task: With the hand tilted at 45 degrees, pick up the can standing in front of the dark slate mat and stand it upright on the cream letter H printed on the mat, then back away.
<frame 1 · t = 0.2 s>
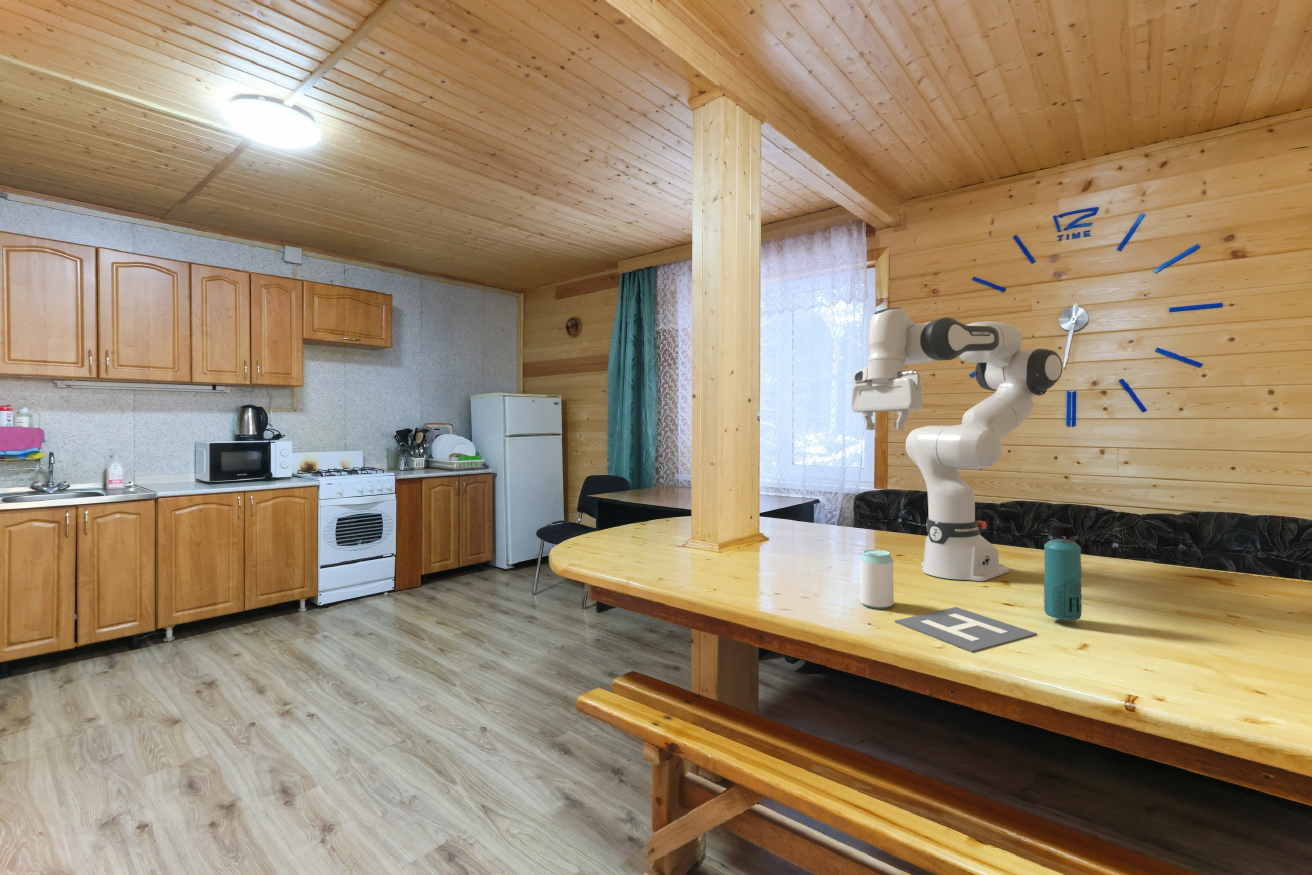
hand: (883, 429, 149), 39 cm above the table, tool pointing down, fingers open, 8 cm apart
can: (876, 605, 137), on the table
letter mat: (963, 628, 121), on the table
beverage bottle: (1062, 623, 123), on the table
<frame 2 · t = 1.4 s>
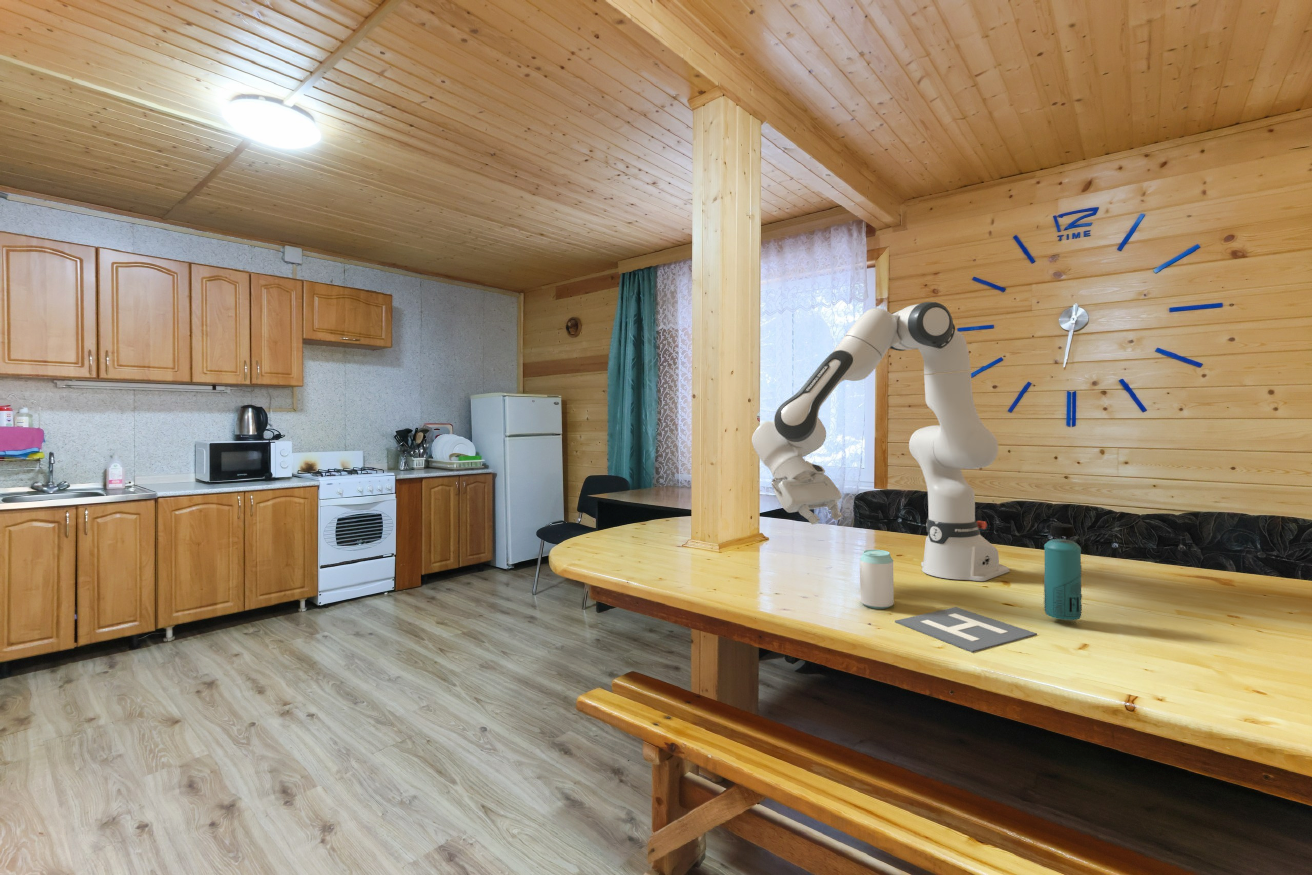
hand: (828, 520, 145), 18 cm above the table, tool tilted 45°, fingers open, 8 cm apart
nothing on the table moved.
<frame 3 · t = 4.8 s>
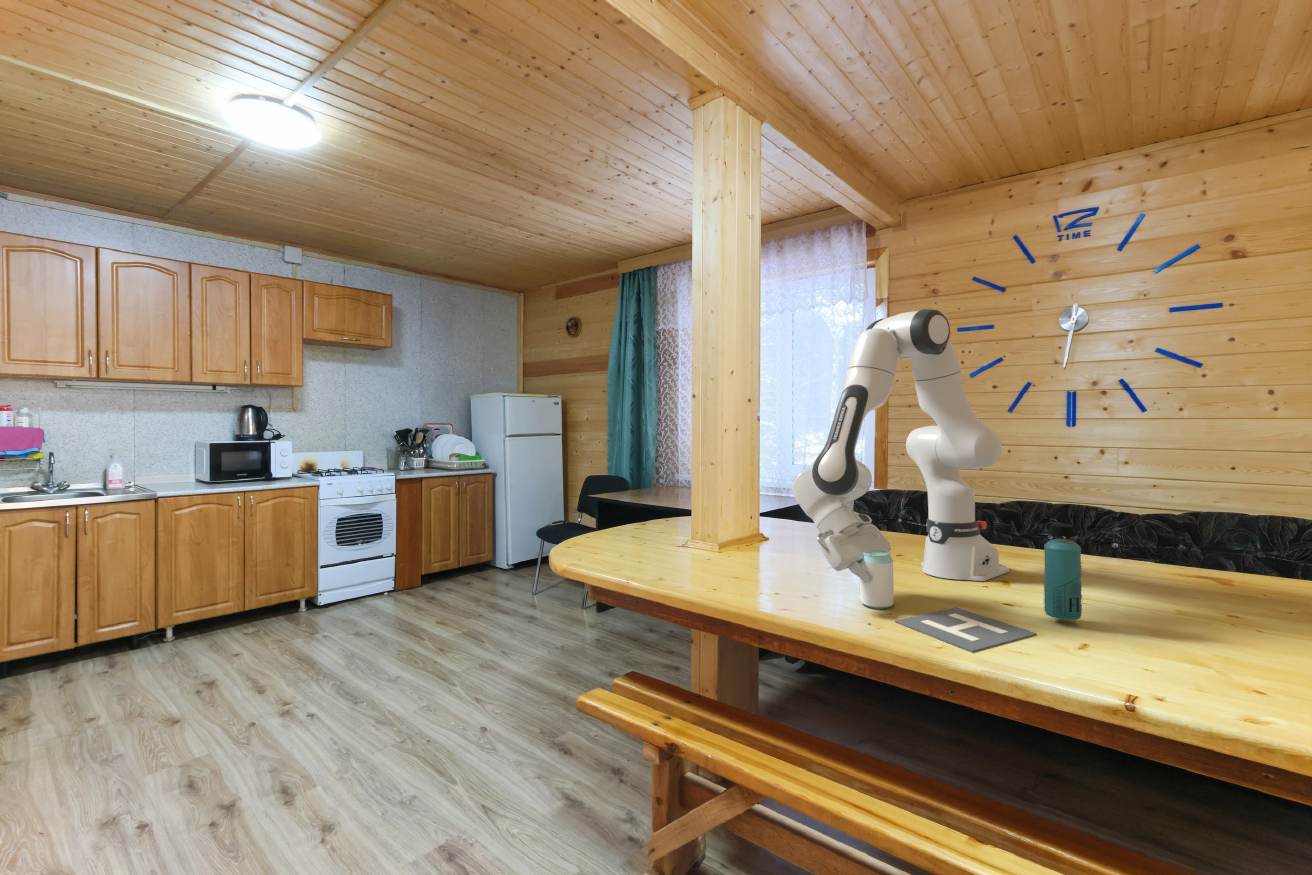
hand: (879, 577, 136), 6 cm above the table, tool tilted 45°, fingers closed on can, 7 cm apart
can: (876, 605, 137), on the table, touching gripper
everything else where it was.
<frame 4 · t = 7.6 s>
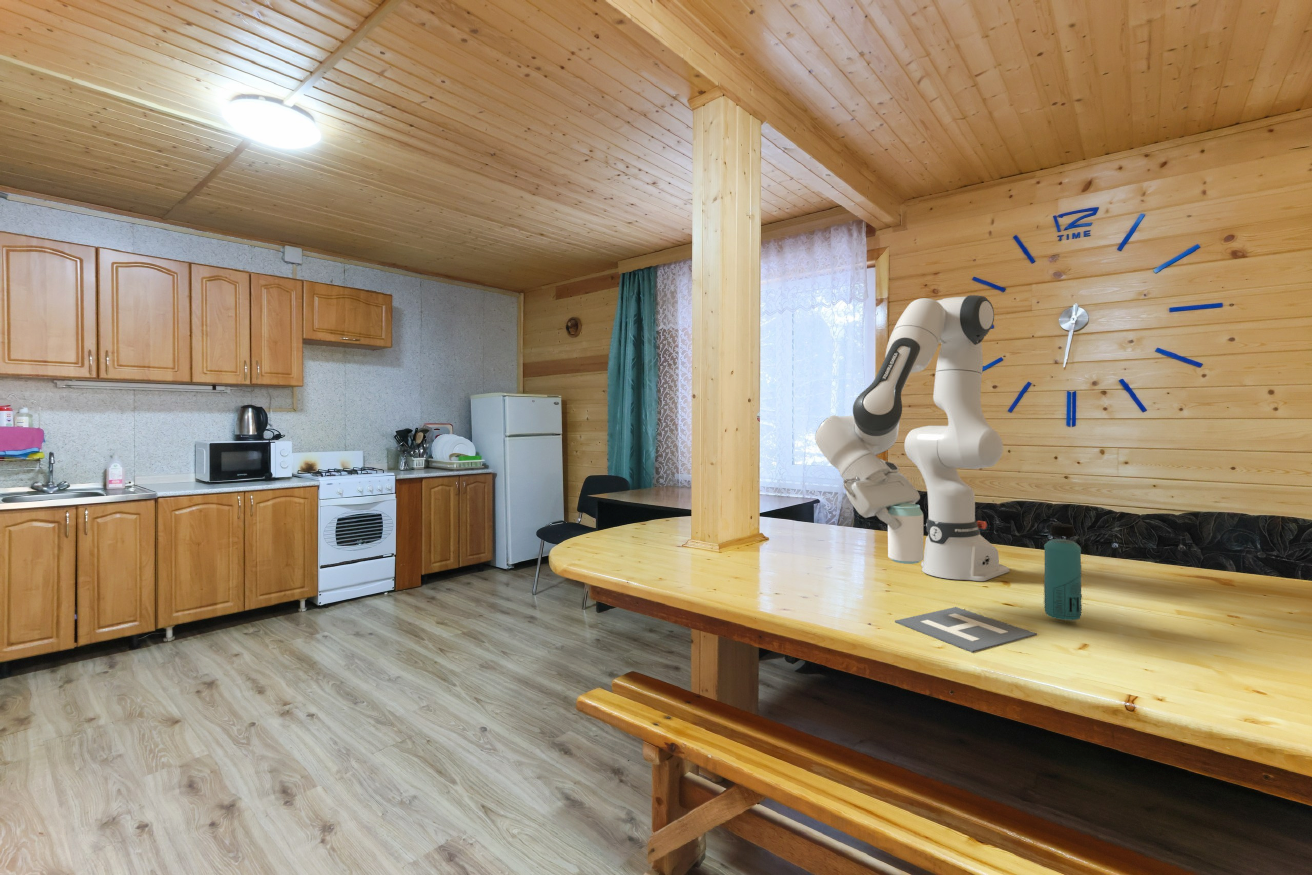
hand: (908, 524, 130), 19 cm above the table, tool tilted 45°, fingers closed on can, 7 cm apart
can: (905, 561, 131), point 11 cm above the table, touching gripper
everything else where it was.
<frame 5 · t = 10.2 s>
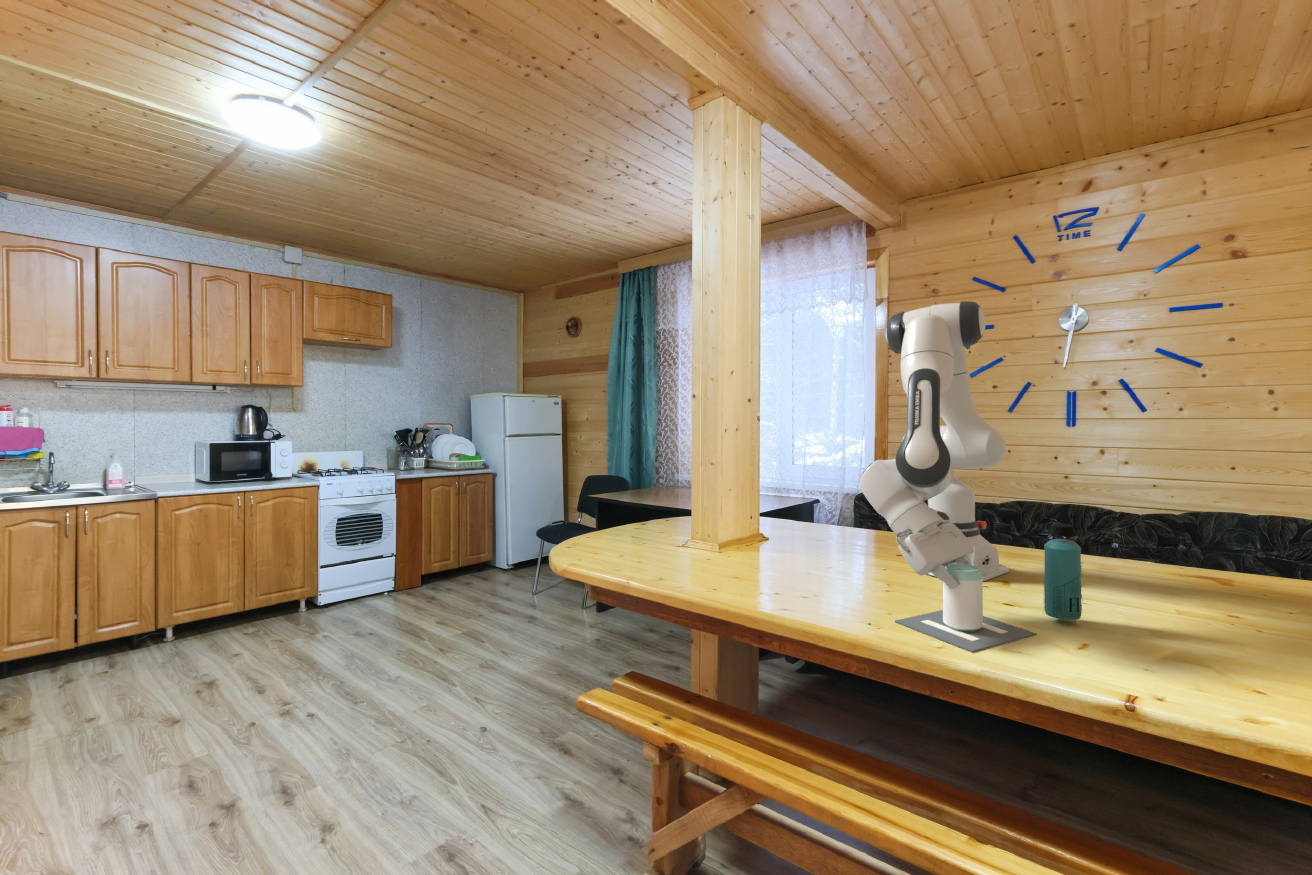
hand: (965, 582, 120), 9 cm above the table, tool tilted 45°, fingers closed on can, 7 cm apart
can: (962, 627, 121), resting on letter mat, touching gripper
everything else where it was.
when the fingers open (8 cm above the table, at t = 11.1 s): can stays where it is, resting on letter mat.
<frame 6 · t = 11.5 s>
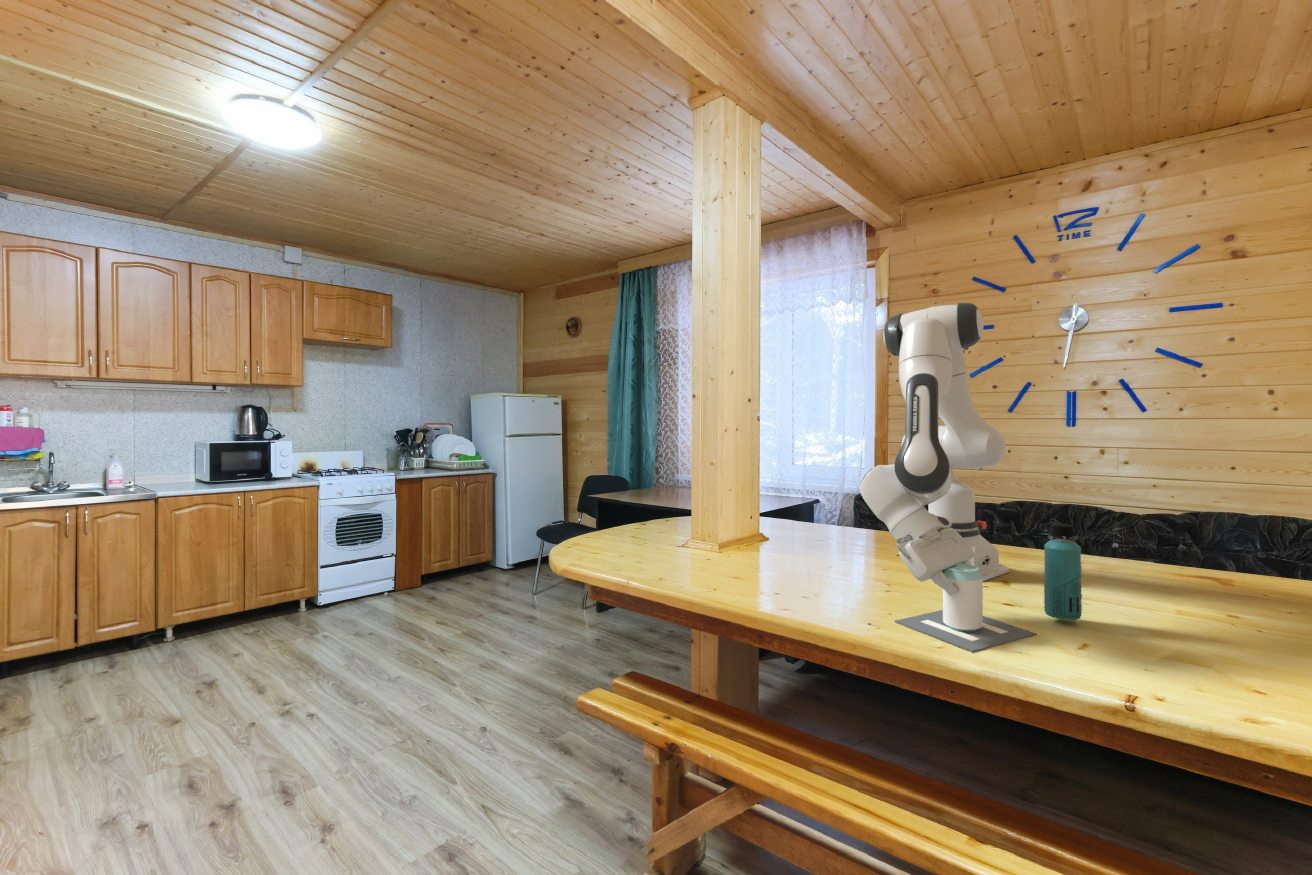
hand: (966, 588, 120), 8 cm above the table, tool tilted 45°, fingers open, 8 cm apart
can: (962, 627, 121), resting on letter mat
everything else where it was.
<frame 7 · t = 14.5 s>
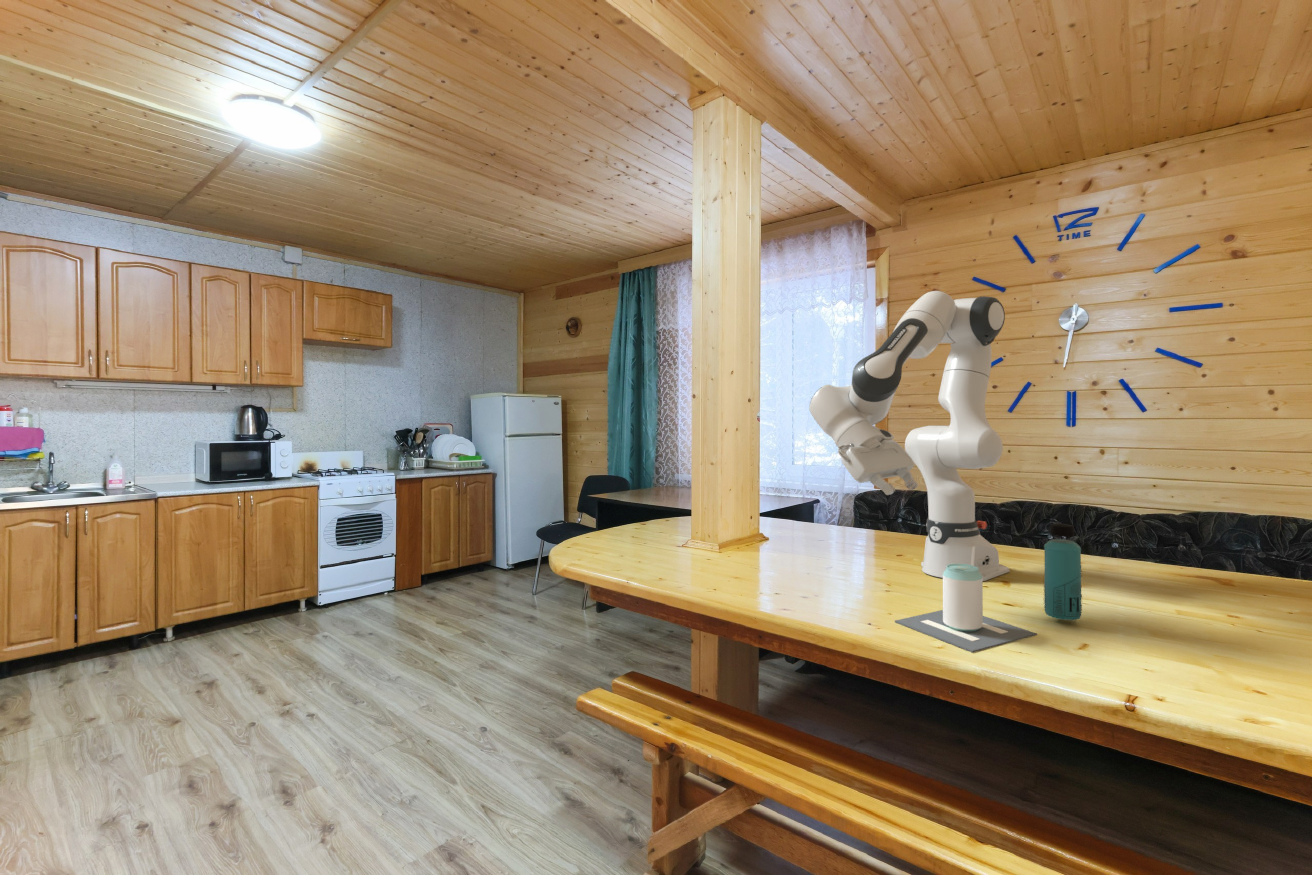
hand: (903, 490, 130), 27 cm above the table, tool tilted 45°, fingers open, 8 cm apart
nothing on the table moved.
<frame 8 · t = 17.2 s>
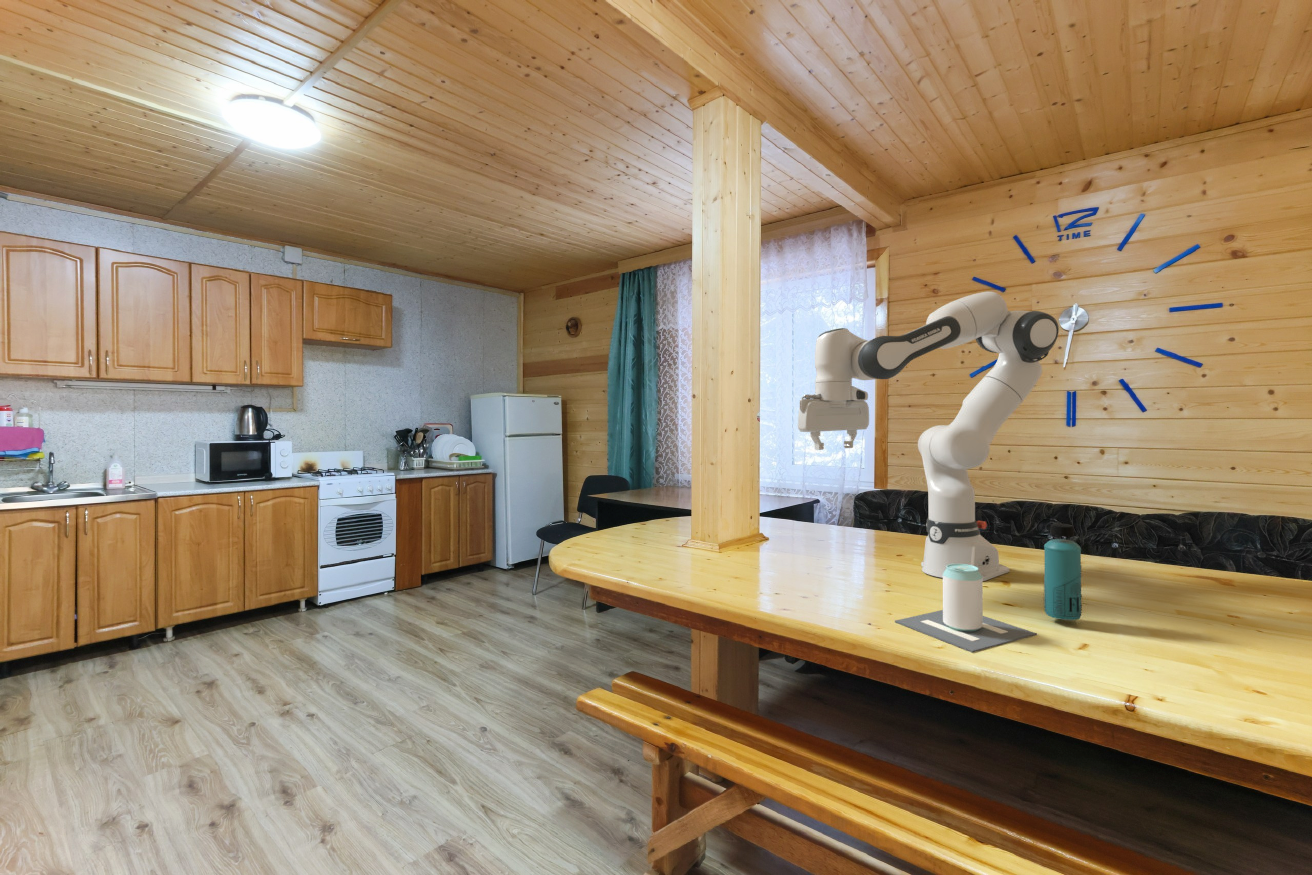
hand: (834, 449, 153), 34 cm above the table, tool pointing down, fingers open, 8 cm apart
nothing on the table moved.
at the end: can 0.3 cm off-centre on the letter mat, point 0.2 cm above the letter mat's base; can tilted 0°; the gripper is holding nothing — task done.
